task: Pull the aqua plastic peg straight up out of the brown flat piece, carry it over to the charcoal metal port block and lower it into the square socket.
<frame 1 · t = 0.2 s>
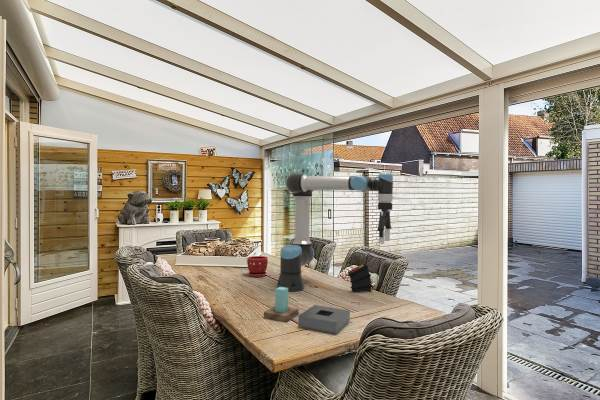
hand: (384, 242, 191), 28 cm above the table, tool pointing down, fingers open, 13 cm apart
plant pot: (257, 275, 231), on the table
brown flat piece: (281, 316, 155), on the table
peg: (281, 302, 155), in the brown flat piece
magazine: (359, 291, 197), on the table
port: (324, 324, 146), on the table
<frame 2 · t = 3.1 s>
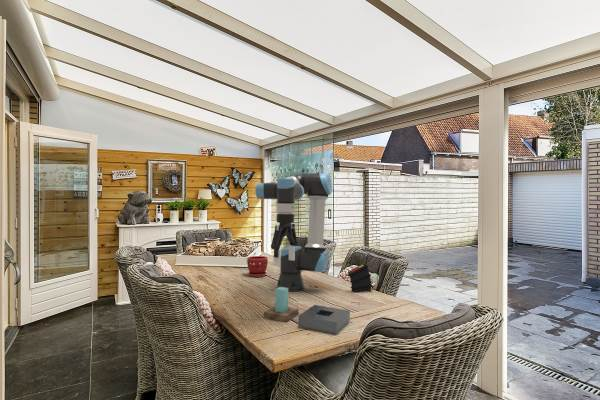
hand: (284, 262, 155), 23 cm above the table, tool pointing down, fingers open, 13 cm apart
nothing on the table moved.
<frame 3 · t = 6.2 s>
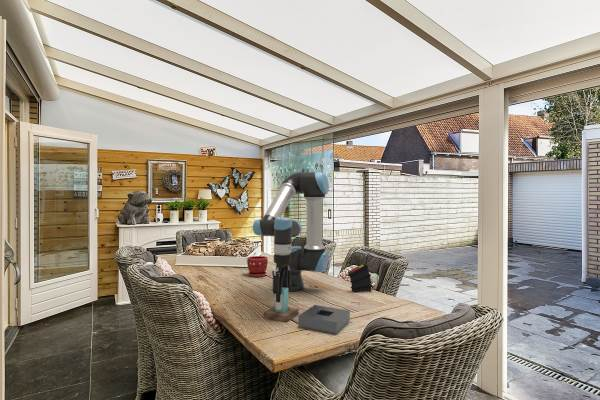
hand: (281, 307, 155), 4 cm above the table, tool pointing down, fingers closed on peg, 4 cm apart
peg: (281, 302, 155), in the brown flat piece, touching gripper
everything else where it was.
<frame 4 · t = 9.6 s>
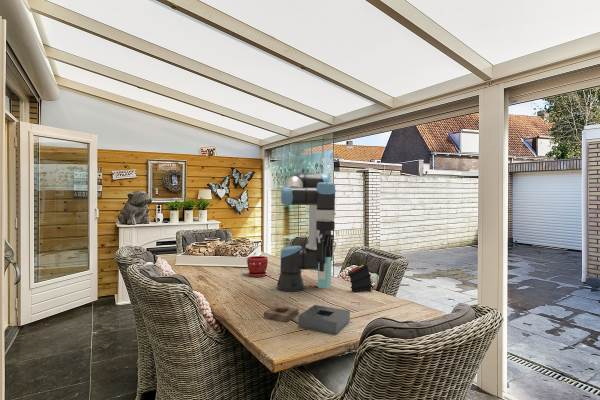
hand: (324, 277, 146), 19 cm above the table, tool pointing down, fingers closed on peg, 4 cm apart
peg: (324, 272, 146), point 21 cm above the table, touching gripper
everything else where it was.
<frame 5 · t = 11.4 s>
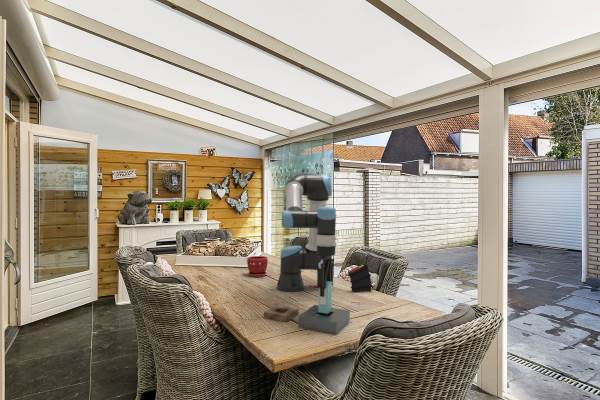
hand: (325, 302, 146), 9 cm above the table, tool pointing down, fingers closed on peg, 4 cm apart
peg: (325, 296, 146), point 11 cm above the table, touching gripper
everything else where it was.
when the fingers open (6 cm above the table, at t = 12.9 s): peg drops 2 cm, resting in port.
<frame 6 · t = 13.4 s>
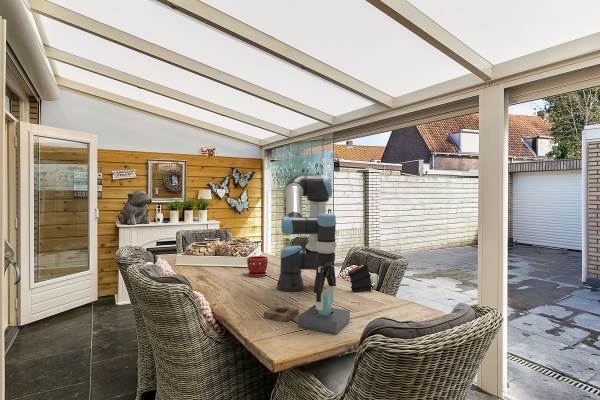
hand: (324, 305, 146), 8 cm above the table, tool pointing down, fingers open, 11 cm apart
peg: (324, 309, 146), in the port
everything else where it was.
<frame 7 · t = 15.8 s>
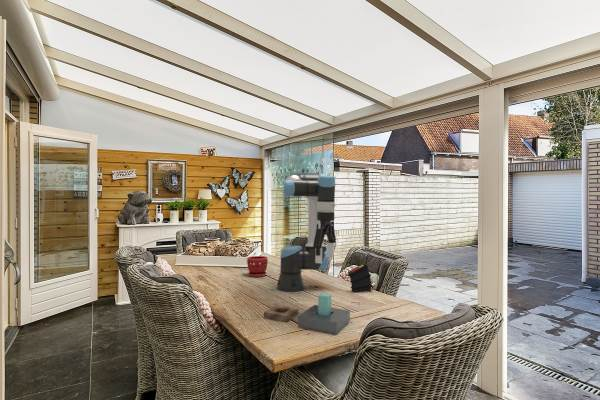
hand: (324, 260, 156), 24 cm above the table, tool pointing down, fingers open, 13 cm apart
nothing on the table moved.
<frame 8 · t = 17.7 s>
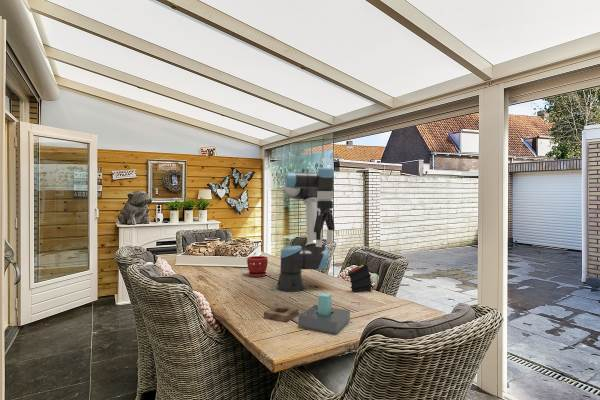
hand: (324, 245, 171), 29 cm above the table, tool pointing down, fingers open, 13 cm apart
nothing on the table moved.
at the end: peg 0.1 cm off-centre on the port, point 6.0 cm above the port's base; peg tilted 0°; the gripper is holding nothing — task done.
